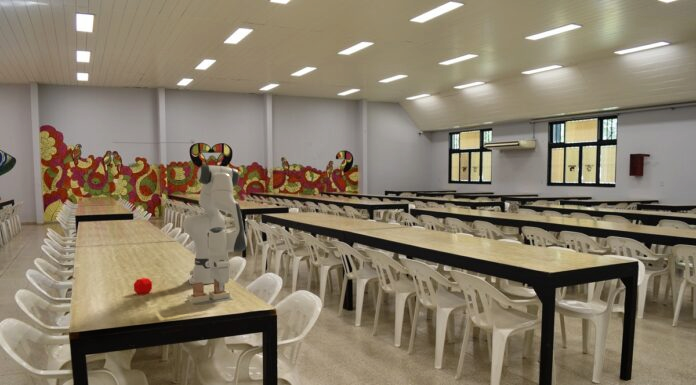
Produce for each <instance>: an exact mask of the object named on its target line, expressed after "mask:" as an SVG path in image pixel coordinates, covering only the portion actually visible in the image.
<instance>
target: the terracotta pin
mask: <svg viewBox="0 0 696 385" xmlns="http://www.w3.org/2000/svg"><path fill="white" fill-rule="evenodd" d="M225 286H226V285H224V286H223V291H219V282H218V281H217V280H216V279H214V283H213V291H214V294H219V293H225V290H226V289H225Z"/></svg>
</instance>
